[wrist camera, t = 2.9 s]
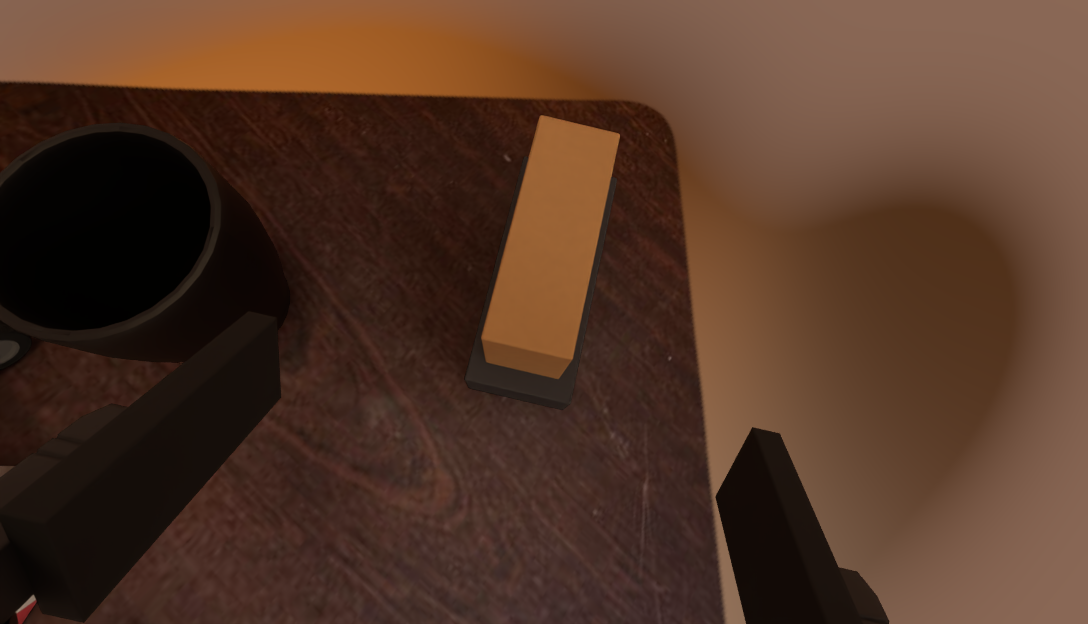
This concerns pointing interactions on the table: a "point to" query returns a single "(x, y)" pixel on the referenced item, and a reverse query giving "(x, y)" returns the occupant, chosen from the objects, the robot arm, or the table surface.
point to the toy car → (12, 345)
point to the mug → (130, 246)
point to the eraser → (546, 267)
